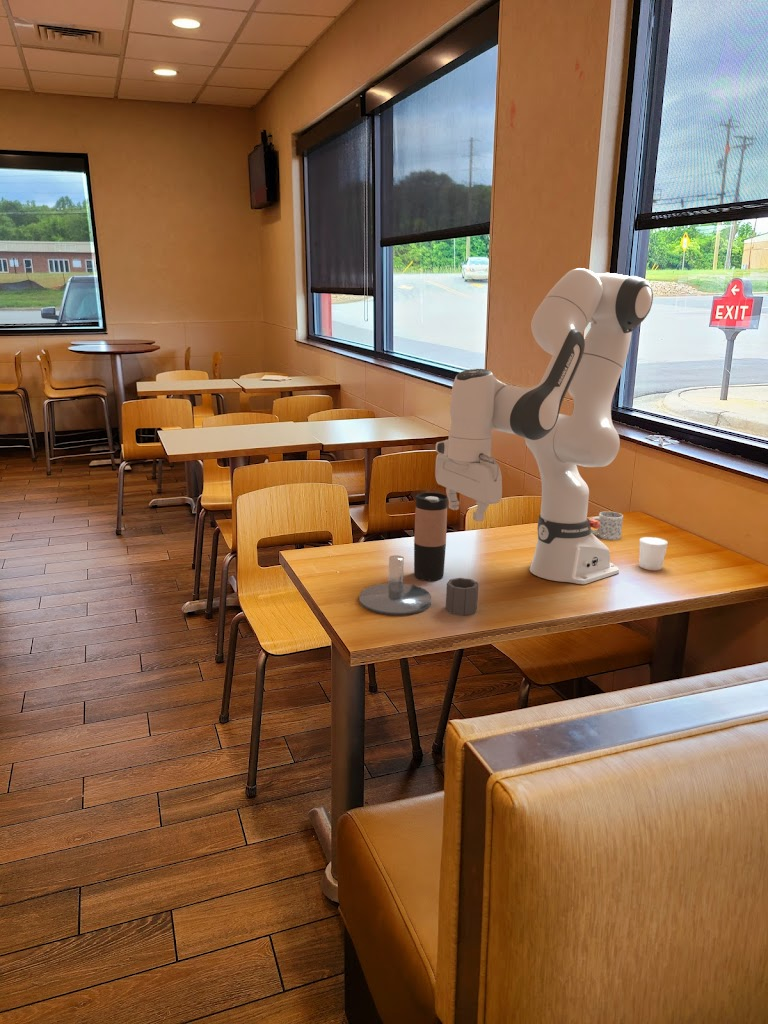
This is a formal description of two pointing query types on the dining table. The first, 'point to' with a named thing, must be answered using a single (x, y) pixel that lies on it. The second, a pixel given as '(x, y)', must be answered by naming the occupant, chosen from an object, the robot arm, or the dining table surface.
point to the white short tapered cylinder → (652, 553)
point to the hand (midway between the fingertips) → (465, 514)
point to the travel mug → (430, 536)
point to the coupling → (462, 596)
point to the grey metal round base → (395, 594)
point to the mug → (608, 525)
